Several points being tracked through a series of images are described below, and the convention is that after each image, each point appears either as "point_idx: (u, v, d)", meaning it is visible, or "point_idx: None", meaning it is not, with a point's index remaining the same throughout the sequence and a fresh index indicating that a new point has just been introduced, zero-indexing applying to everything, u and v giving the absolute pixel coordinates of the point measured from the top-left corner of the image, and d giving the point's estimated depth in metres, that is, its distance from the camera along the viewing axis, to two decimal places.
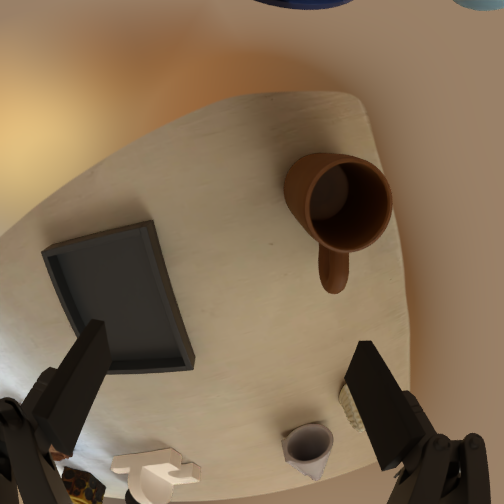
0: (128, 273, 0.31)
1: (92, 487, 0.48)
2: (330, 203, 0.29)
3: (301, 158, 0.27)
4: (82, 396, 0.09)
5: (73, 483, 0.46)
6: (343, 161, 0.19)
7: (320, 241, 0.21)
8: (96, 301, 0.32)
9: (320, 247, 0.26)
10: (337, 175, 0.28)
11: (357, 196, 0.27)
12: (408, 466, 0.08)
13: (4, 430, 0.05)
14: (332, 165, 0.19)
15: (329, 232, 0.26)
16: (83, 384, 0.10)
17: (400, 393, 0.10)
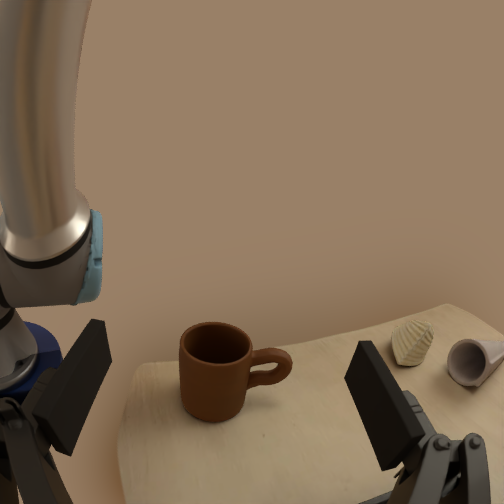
0: None
1: None
2: None
3: (183, 403, 0.29)
4: (82, 397, 0.09)
5: None
6: (182, 342, 0.27)
7: (242, 359, 0.26)
8: None
9: (257, 381, 0.29)
10: None
11: None
12: (408, 466, 0.08)
13: (4, 430, 0.05)
14: (184, 348, 0.26)
15: None
16: (83, 384, 0.10)
17: (400, 393, 0.10)
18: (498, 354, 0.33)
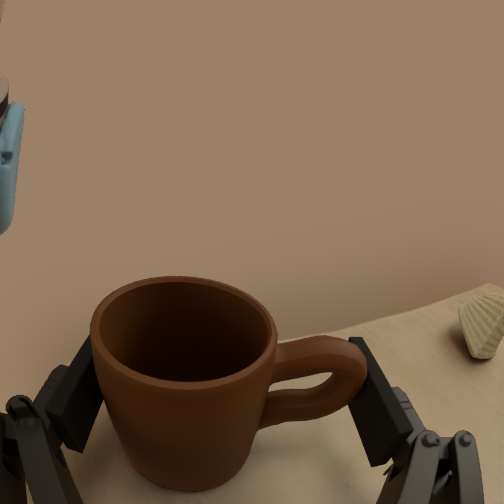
0: None
1: None
2: None
3: None
4: (93, 393, 0.10)
5: None
6: (96, 315, 0.10)
7: (252, 369, 0.09)
8: None
9: (283, 415, 0.12)
10: None
11: (197, 375, 0.16)
12: (397, 463, 0.08)
13: (16, 427, 0.06)
14: (95, 330, 0.09)
15: None
16: (94, 381, 0.10)
17: (389, 389, 0.10)
18: None
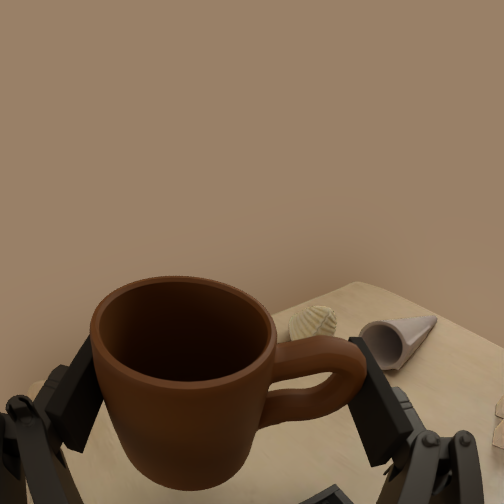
0: None
1: None
2: None
3: None
4: (93, 393, 0.10)
5: None
6: (96, 315, 0.10)
7: (252, 368, 0.09)
8: None
9: (282, 415, 0.12)
10: None
11: (197, 375, 0.16)
12: (397, 463, 0.08)
13: (16, 427, 0.06)
14: (95, 329, 0.09)
15: None
16: (94, 381, 0.10)
17: (389, 389, 0.10)
18: (418, 332, 0.41)
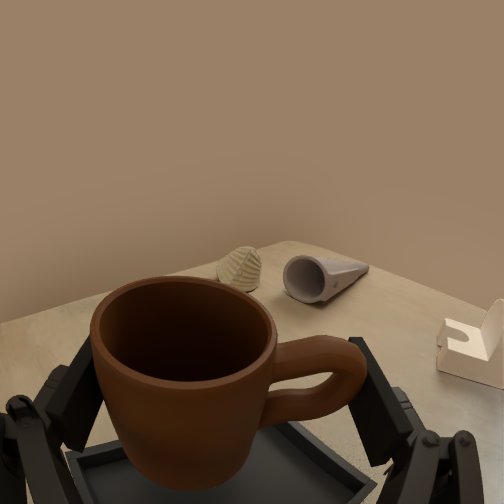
0: (152, 492, 0.14)
1: None
2: None
3: None
4: (93, 393, 0.10)
5: None
6: (96, 315, 0.10)
7: (252, 368, 0.09)
8: None
9: (283, 415, 0.12)
10: None
11: (197, 375, 0.16)
12: (397, 463, 0.08)
13: (16, 427, 0.06)
14: (95, 330, 0.09)
15: None
16: (94, 381, 0.10)
17: (389, 389, 0.10)
18: (343, 269, 0.50)
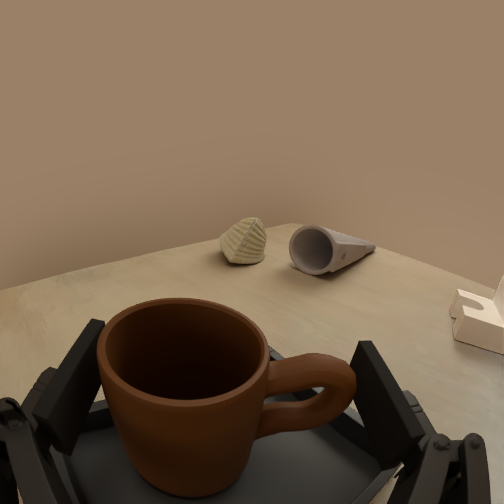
0: None
1: None
2: None
3: None
4: (81, 396, 0.09)
5: None
6: (102, 338, 0.10)
7: (245, 387, 0.09)
8: None
9: (278, 426, 0.12)
10: None
11: (198, 388, 0.17)
12: (408, 466, 0.08)
13: (4, 430, 0.05)
14: (102, 352, 0.10)
15: None
16: (83, 384, 0.10)
17: (400, 393, 0.10)
18: (351, 242, 0.48)
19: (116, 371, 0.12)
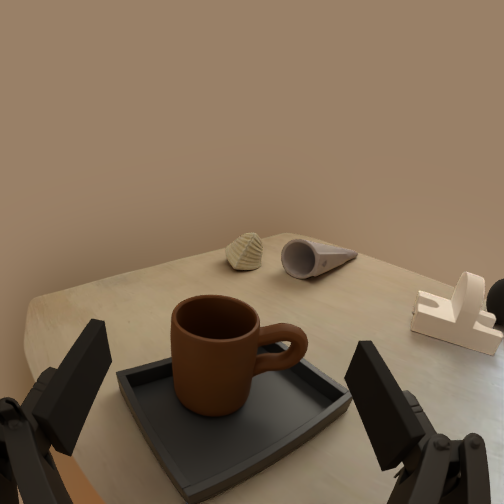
0: None
1: None
2: None
3: (177, 394, 0.24)
4: (82, 396, 0.09)
5: None
6: (174, 315, 0.22)
7: (247, 334, 0.21)
8: (243, 429, 0.22)
9: (265, 366, 0.24)
10: None
11: None
12: (408, 466, 0.08)
13: (4, 430, 0.05)
14: (176, 322, 0.22)
15: None
16: (83, 384, 0.10)
17: (400, 393, 0.10)
18: (332, 252, 0.60)
19: None
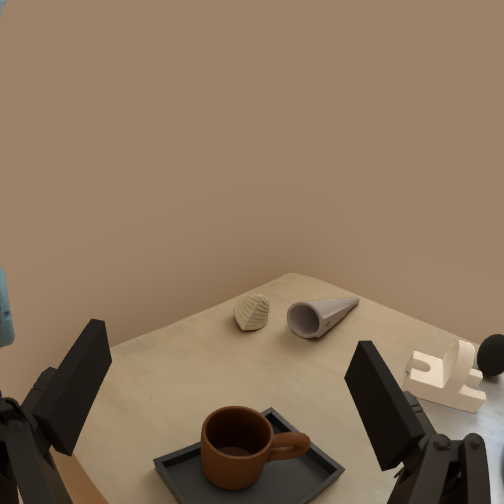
0: None
1: None
2: None
3: (205, 475, 0.26)
4: (82, 396, 0.09)
5: None
6: (204, 433, 0.24)
7: (264, 449, 0.23)
8: (258, 498, 0.24)
9: (276, 458, 0.26)
10: None
11: (236, 437, 0.31)
12: (408, 466, 0.08)
13: (4, 430, 0.05)
14: (207, 440, 0.24)
15: None
16: (83, 384, 0.10)
17: (400, 393, 0.10)
18: (335, 310, 0.62)
19: None
